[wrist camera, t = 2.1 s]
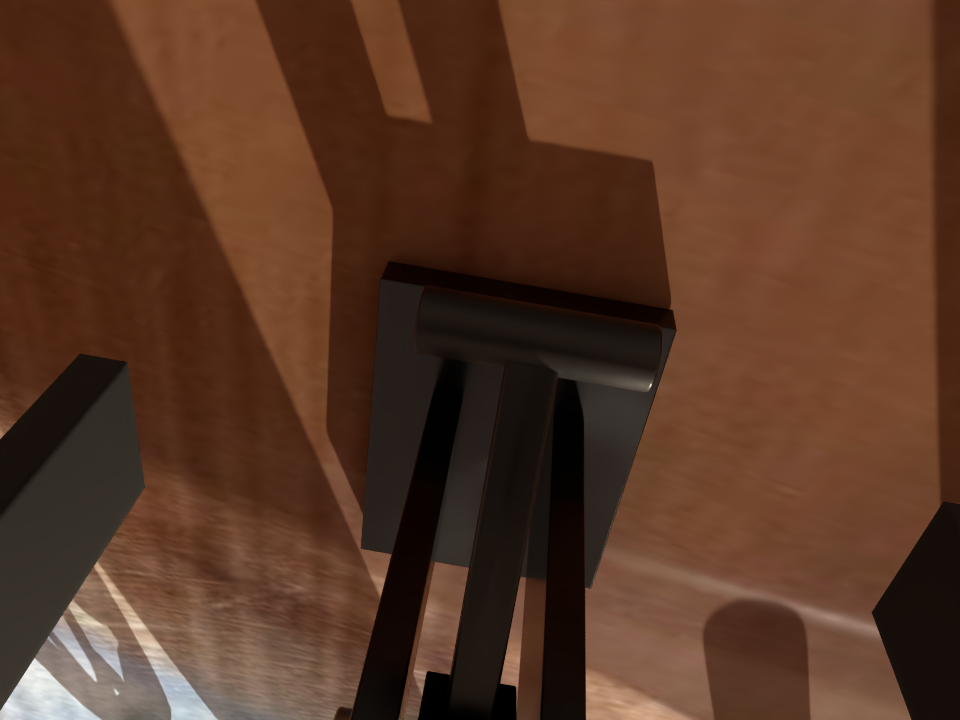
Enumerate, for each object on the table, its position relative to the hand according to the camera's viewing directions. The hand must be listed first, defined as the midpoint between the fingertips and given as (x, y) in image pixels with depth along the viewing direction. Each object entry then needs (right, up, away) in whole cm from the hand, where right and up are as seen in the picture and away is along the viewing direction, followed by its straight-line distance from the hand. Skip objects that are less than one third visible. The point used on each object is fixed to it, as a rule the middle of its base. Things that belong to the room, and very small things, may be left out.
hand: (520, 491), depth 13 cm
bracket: (0, 0, +15) cm, 15 cm away
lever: (0, -2, +6) cm, 6 cm away
